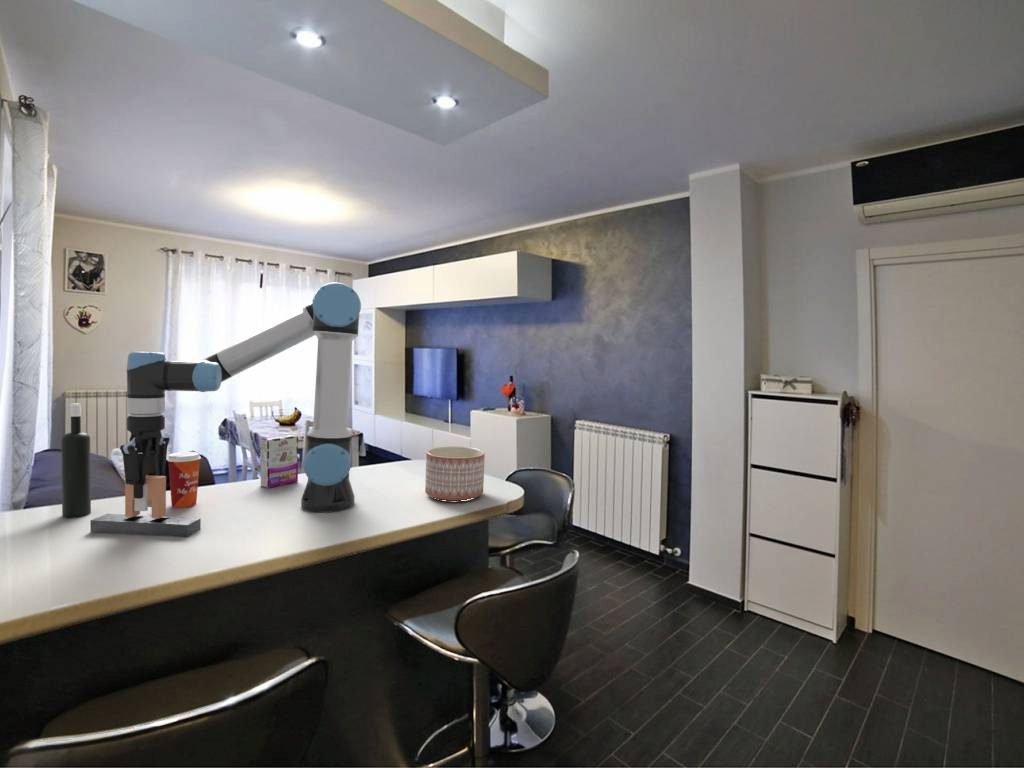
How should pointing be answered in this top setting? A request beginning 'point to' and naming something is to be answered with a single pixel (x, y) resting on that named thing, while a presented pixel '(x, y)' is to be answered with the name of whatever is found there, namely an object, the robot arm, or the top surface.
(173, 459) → the coffee cup
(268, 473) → the candy bar box
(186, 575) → the top surface
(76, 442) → the wine bottle
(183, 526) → the rail
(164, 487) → the clip
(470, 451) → the planter
